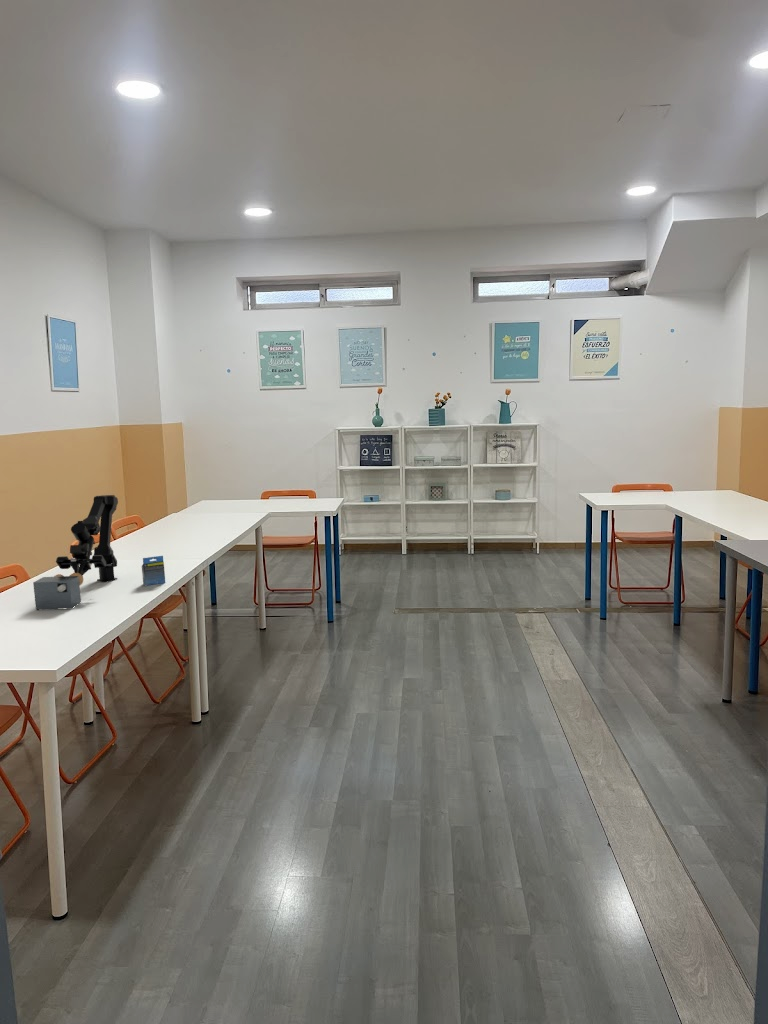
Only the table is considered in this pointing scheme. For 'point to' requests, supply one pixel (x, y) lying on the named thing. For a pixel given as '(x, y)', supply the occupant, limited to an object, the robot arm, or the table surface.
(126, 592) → the table surface
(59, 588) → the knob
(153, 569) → the label tape cartridge
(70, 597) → the mount
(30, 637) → the table surface
